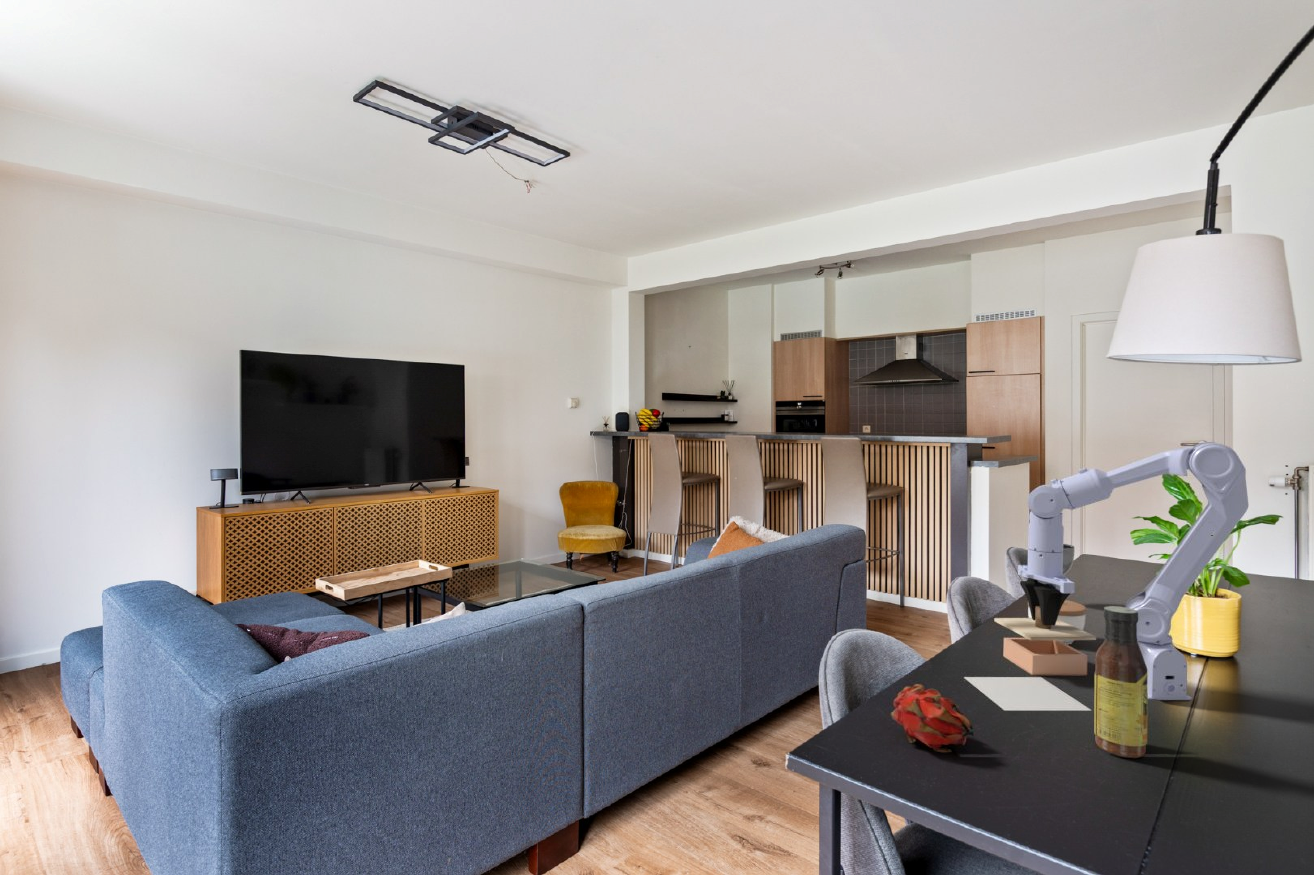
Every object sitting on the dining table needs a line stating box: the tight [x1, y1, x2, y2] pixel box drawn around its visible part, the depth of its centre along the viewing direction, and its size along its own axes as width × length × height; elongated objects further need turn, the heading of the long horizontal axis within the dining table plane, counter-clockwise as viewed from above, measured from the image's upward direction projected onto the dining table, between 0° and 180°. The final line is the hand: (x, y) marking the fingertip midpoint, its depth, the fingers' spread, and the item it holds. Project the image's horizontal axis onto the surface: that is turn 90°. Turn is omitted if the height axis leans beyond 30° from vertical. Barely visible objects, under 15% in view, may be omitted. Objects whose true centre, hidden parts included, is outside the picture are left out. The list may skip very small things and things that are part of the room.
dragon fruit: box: [889, 683, 978, 753], centre depth 99 cm, size 8×8×12 cm
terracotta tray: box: [1002, 637, 1088, 677], centre depth 130 cm, size 10×10×4 cm
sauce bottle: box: [1093, 605, 1149, 759], centre depth 97 cm, size 7×6×20 cm
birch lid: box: [994, 606, 1097, 641], centre depth 128 cm, size 12×12×4 cm
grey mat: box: [963, 676, 1092, 712], centre depth 116 cm, size 14×14×1 cm
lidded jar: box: [1027, 599, 1087, 646], centre depth 146 cm, size 11×11×9 cm
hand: (1043, 622), depth 129 cm, fingers closed on birch lid, 3 cm apart
